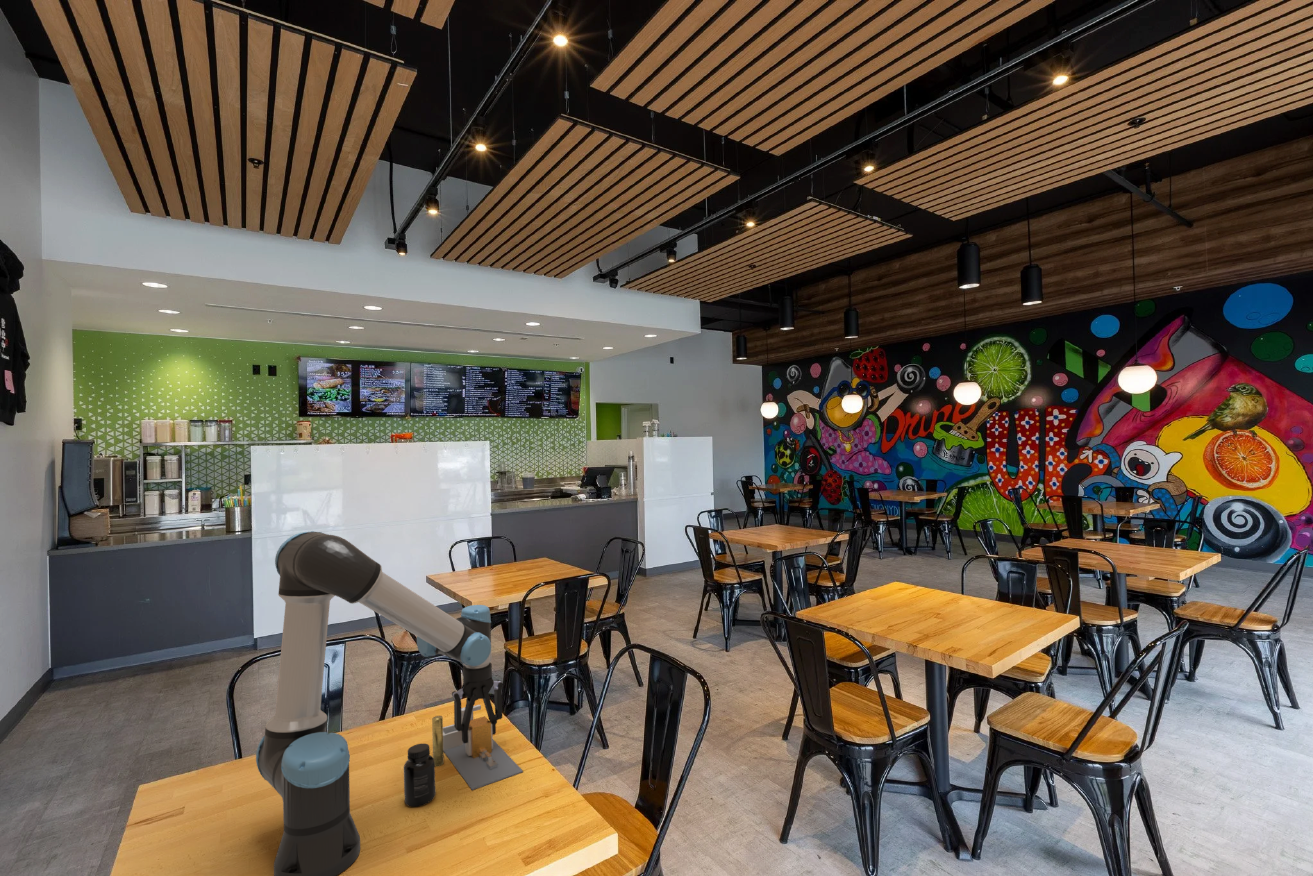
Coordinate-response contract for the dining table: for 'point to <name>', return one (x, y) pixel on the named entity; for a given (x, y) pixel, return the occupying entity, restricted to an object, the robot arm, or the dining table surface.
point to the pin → (437, 740)
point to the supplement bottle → (419, 776)
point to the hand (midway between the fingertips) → (479, 750)
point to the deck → (476, 759)
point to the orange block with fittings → (482, 741)
